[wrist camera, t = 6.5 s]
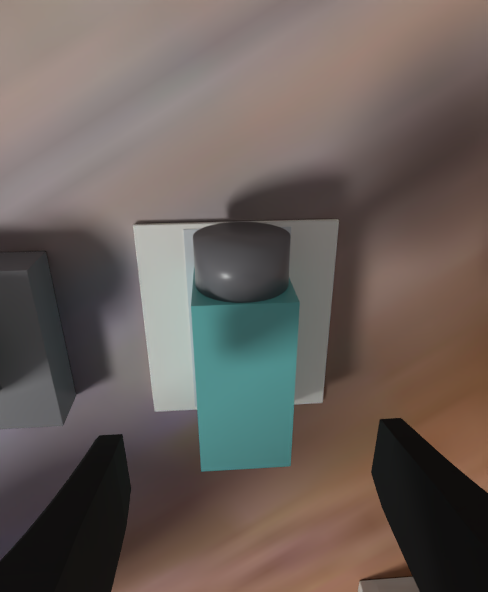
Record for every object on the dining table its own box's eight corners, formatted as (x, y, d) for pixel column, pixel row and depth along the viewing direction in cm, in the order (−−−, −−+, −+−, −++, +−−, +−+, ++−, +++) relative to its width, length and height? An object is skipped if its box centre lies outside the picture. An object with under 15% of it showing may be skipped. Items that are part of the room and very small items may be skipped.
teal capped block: (277, 407, 21) (290, 466, 18) (202, 411, 21) (201, 471, 18) (284, 219, 17) (302, 250, 14) (191, 222, 17) (187, 254, 14)
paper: (321, 400, 21) (322, 403, 21) (155, 408, 21) (154, 412, 21) (337, 219, 17) (339, 220, 17) (133, 223, 17) (132, 225, 17)
